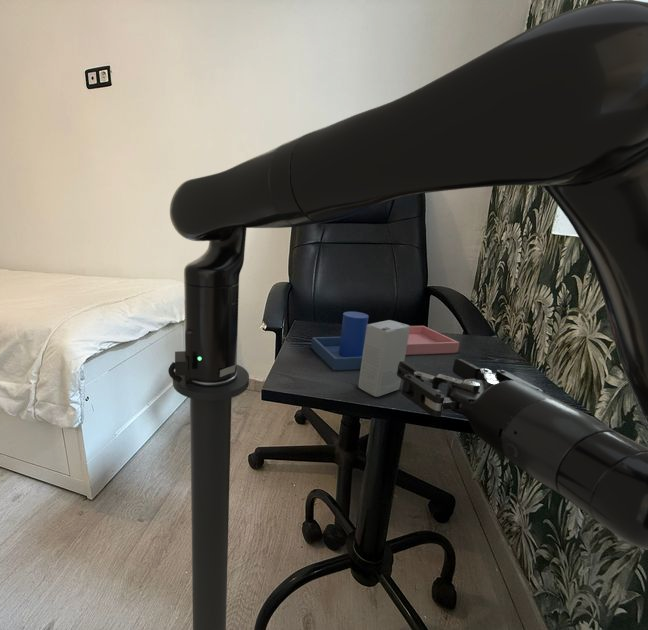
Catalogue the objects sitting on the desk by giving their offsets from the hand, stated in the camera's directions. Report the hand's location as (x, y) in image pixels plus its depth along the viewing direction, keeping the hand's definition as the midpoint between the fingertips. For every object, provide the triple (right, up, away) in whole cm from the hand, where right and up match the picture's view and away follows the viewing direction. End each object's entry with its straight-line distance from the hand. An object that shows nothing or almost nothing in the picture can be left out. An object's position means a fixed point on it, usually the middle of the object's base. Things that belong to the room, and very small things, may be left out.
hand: (428, 366), depth 50 cm
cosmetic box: (-2, -6, +13) cm, 14 cm away
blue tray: (-2, -2, +27) cm, 27 cm away
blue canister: (-2, -1, +26) cm, 27 cm away
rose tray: (+16, 0, +35) cm, 39 cm away
